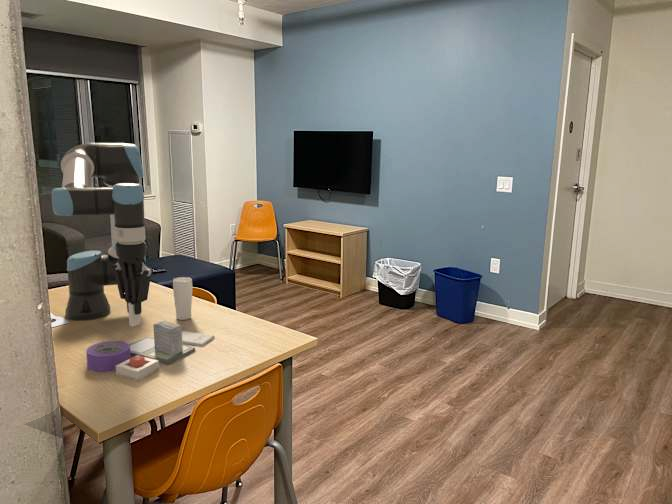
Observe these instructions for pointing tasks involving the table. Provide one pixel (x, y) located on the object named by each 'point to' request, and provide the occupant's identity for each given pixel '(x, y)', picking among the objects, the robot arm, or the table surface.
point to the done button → (137, 361)
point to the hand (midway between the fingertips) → (135, 324)
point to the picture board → (147, 350)
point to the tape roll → (107, 355)
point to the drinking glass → (183, 297)
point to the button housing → (137, 369)
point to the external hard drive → (196, 338)
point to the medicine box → (168, 337)
